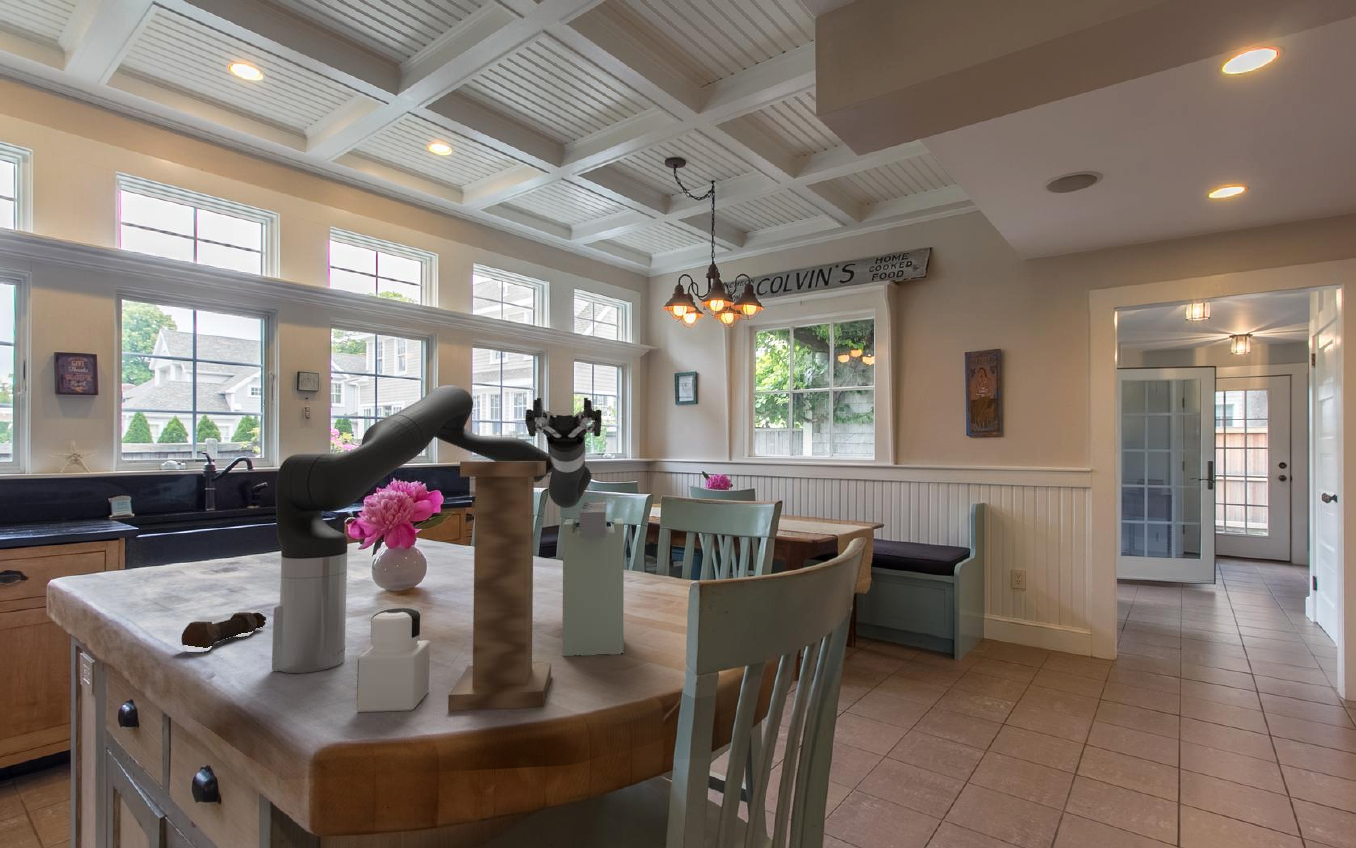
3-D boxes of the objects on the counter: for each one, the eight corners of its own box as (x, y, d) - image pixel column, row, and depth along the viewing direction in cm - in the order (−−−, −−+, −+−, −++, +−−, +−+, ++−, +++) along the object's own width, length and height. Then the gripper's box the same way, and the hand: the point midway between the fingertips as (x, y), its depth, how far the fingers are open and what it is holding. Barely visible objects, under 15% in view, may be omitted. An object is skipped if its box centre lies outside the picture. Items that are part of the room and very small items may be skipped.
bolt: (262, 640, 124) (197, 661, 109) (241, 626, 125) (174, 646, 110) (278, 613, 124) (216, 631, 110) (257, 599, 125) (192, 615, 110)
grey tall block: (562, 656, 107) (563, 524, 108) (566, 639, 117) (566, 518, 118) (623, 654, 108) (623, 523, 109) (622, 637, 118) (622, 518, 119)
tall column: (448, 711, 84) (452, 461, 86) (467, 679, 96) (471, 461, 97) (543, 706, 85) (545, 461, 87) (550, 676, 97) (552, 461, 99)
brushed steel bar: (579, 538, 102) (579, 512, 102) (585, 523, 125) (585, 502, 126) (605, 537, 102) (605, 512, 102) (606, 523, 126) (606, 502, 126)
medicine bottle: (376, 693, 90) (378, 605, 91) (429, 691, 91) (431, 604, 91) (355, 713, 83) (357, 618, 84) (413, 711, 84) (415, 616, 84)
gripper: (532, 431, 134) (524, 384, 121) (602, 431, 136) (601, 384, 122) (530, 462, 130) (521, 417, 117) (601, 462, 132) (601, 418, 118)
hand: (562, 401), depth 120 cm, fingers open, 8 cm apart
